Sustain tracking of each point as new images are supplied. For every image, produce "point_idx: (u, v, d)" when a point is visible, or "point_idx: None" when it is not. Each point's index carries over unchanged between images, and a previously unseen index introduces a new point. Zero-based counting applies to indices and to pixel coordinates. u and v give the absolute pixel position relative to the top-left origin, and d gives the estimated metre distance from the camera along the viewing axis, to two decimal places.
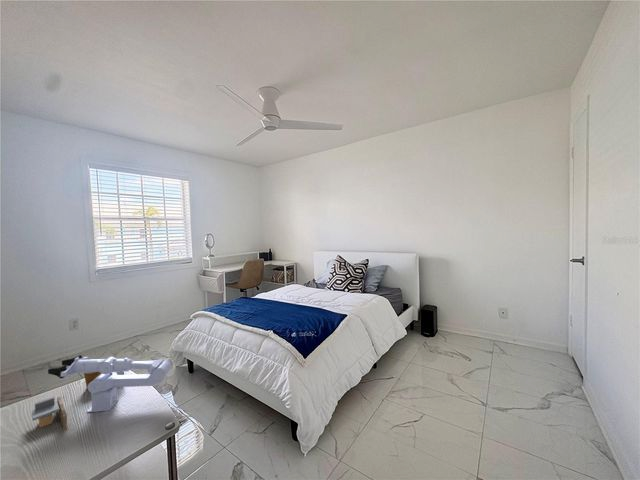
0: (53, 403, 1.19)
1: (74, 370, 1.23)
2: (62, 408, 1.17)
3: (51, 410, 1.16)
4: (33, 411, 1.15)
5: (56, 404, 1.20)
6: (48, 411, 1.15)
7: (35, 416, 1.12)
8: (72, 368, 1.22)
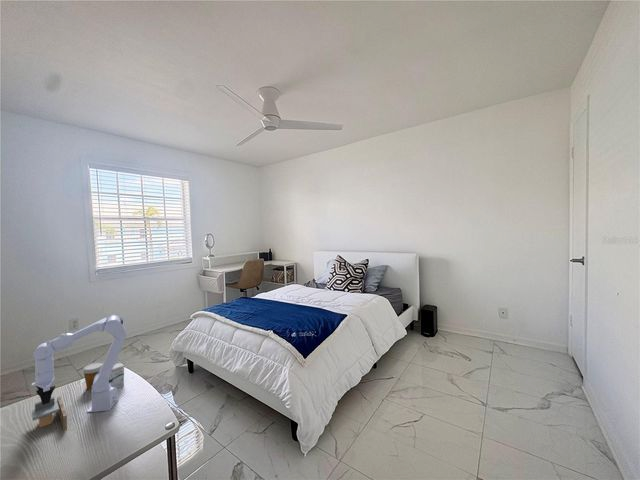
0: (53, 403, 1.19)
1: (47, 380, 1.14)
2: (62, 408, 1.17)
3: (51, 410, 1.16)
4: (33, 411, 1.15)
5: (56, 404, 1.20)
6: (48, 411, 1.15)
7: (35, 416, 1.12)
8: (44, 383, 1.13)
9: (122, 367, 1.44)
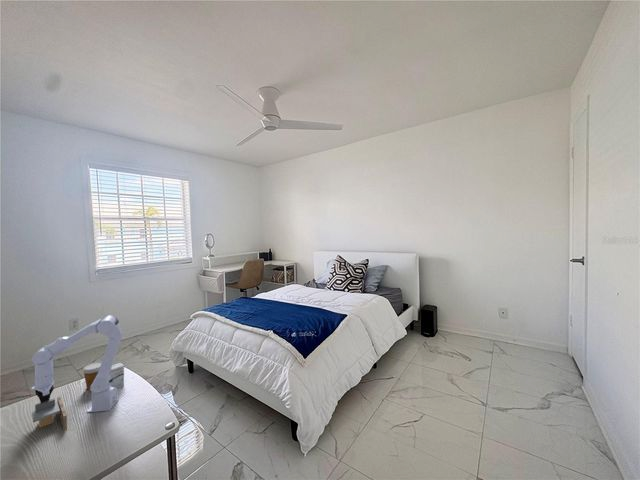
0: (53, 405, 1.18)
1: (47, 384, 1.16)
2: (62, 408, 1.17)
3: (51, 412, 1.15)
4: (33, 413, 1.14)
5: (56, 406, 1.18)
6: (48, 413, 1.14)
7: (35, 418, 1.11)
8: (43, 387, 1.15)
9: (122, 367, 1.44)
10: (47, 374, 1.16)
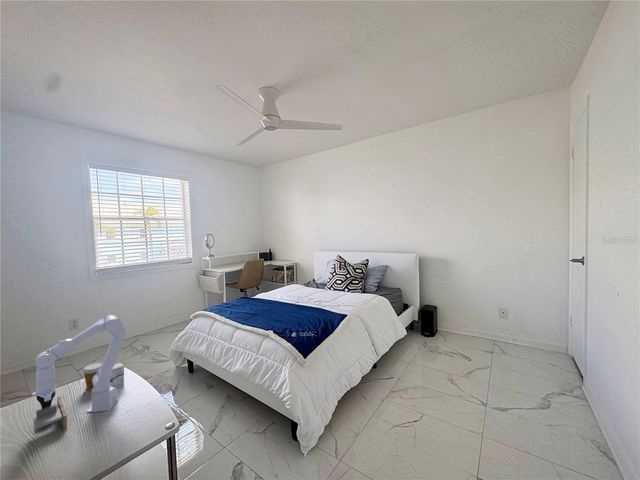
0: (55, 410, 1.14)
1: (48, 389, 1.13)
2: (62, 408, 1.17)
3: (53, 418, 1.11)
4: (34, 419, 1.10)
5: (58, 411, 1.15)
6: (50, 419, 1.10)
7: (37, 425, 1.07)
8: (45, 392, 1.12)
9: (122, 367, 1.44)
10: (51, 378, 1.13)
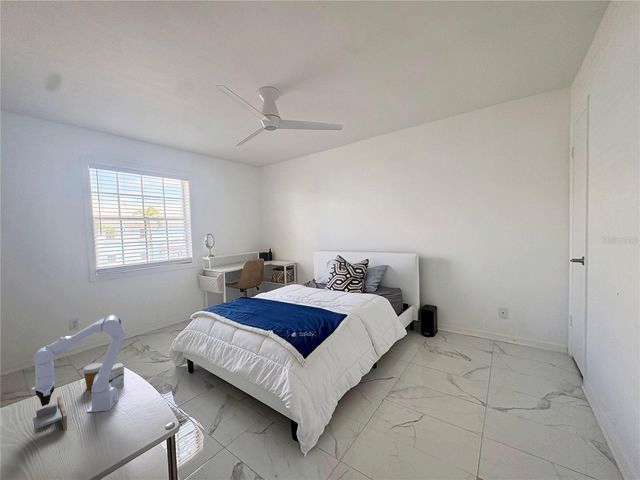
0: (55, 410, 1.14)
1: (47, 385, 1.15)
2: (62, 408, 1.17)
3: (53, 418, 1.11)
4: (34, 419, 1.10)
5: (58, 412, 1.15)
6: (50, 419, 1.10)
7: (37, 425, 1.07)
8: (44, 387, 1.13)
9: (122, 367, 1.44)
10: (49, 374, 1.15)
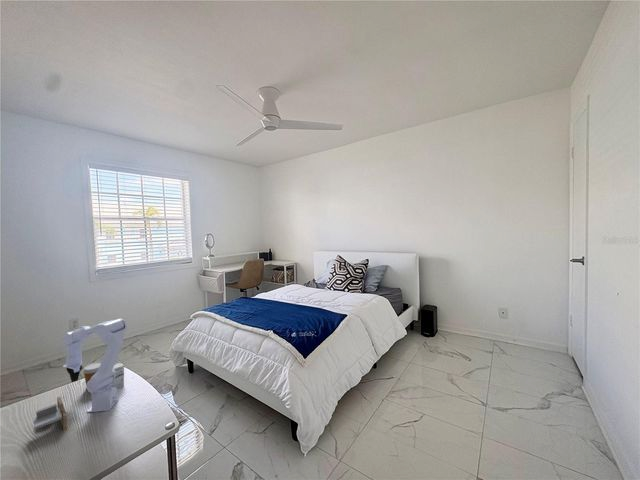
0: (55, 410, 1.14)
1: (77, 363, 1.29)
2: (62, 408, 1.17)
3: (53, 418, 1.11)
4: (34, 419, 1.10)
5: (58, 412, 1.15)
6: (50, 419, 1.10)
7: (37, 425, 1.07)
8: (74, 365, 1.28)
9: (122, 367, 1.44)
10: (71, 355, 1.28)
